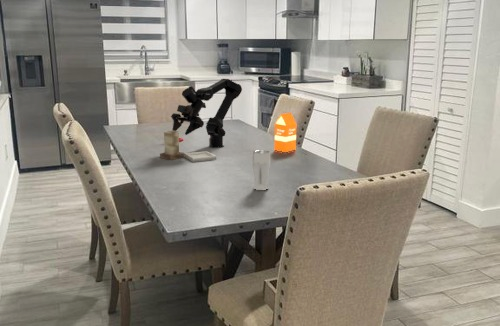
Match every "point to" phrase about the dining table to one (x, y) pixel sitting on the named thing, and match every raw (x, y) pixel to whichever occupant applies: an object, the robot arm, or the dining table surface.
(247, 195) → the dining table surface
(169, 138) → the tan wooden block
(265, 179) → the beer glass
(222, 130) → the robot arm
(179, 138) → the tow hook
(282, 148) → the orange juice
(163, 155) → the walnut collar
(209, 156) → the tray
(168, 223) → the dining table surface
